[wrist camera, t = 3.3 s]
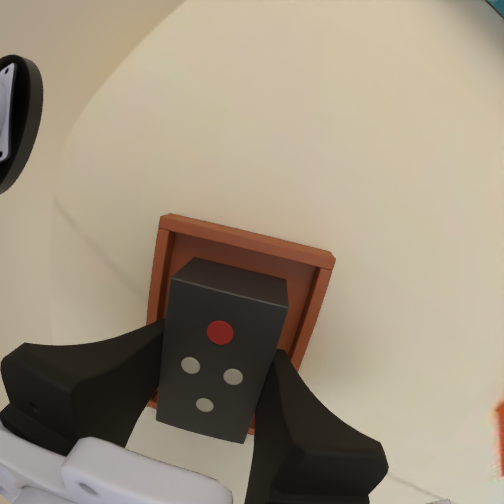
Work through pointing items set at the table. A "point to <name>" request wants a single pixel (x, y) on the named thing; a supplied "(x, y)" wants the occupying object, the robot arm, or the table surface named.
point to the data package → (498, 5)
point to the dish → (249, 258)
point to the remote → (218, 347)
